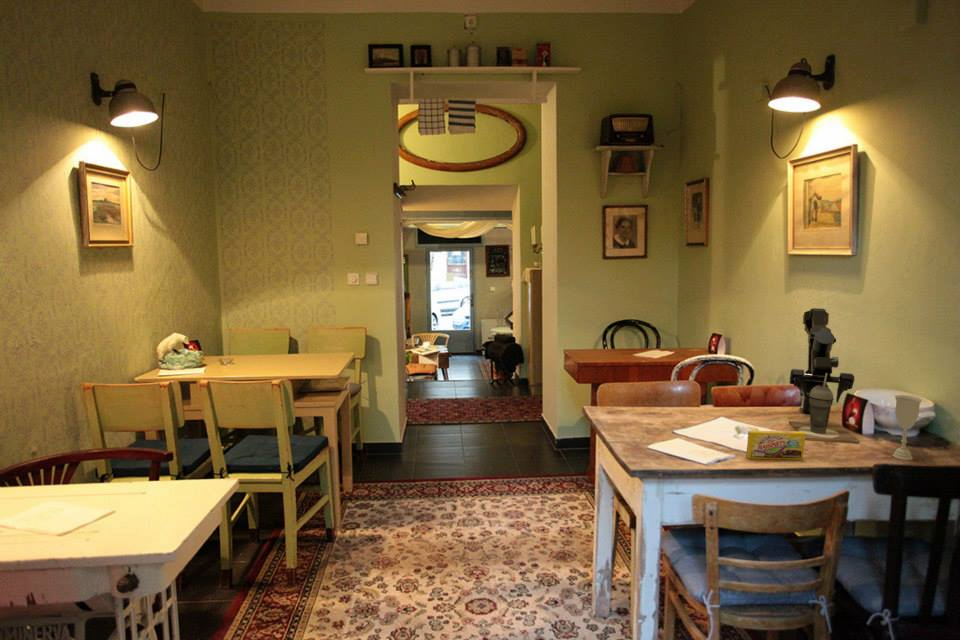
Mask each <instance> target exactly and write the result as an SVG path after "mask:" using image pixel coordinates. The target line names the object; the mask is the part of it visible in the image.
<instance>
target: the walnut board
mask: <svg viewBox="0 0 960 640" xmlns="http://www.w3.org/2000/svg"><path fill="white" fill-rule="evenodd" d="M788 424H789V425H790V426H791V427H792V428H793V429H794V431H802V432H804V433H805V441H813V442H814V441H816V442H829V443H831V442H832V443H845V444H847V443H848V444H860V440H859V439H858V438H857V437H855V436H854V434H852V433H851V432H849V431H848V430H847V429H846V428H844V427H843V426H842V425H841V424H840V423H838V422H837V423H832V422H828V425H827V429H826V433H825V434H818V433H813V432H811V431H810V421H803V420H802V421H801V420H788Z"/></svg>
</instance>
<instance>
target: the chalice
mask: <svg viewBox="0 0 960 640" xmlns="http://www.w3.org/2000/svg"><path fill="white" fill-rule="evenodd" d="M894 398H895V401H896V402H895V412H894V414H895V417H896V419H897V422H898V425H899V427H900V428H902V430H903V432H902V434H901V436H902V438H901V440H900V442H901V446H900V447H898V448H896V449H895V451H894V453H892V457H893V456H894V458H896V459H900V460H905V461H909V460H910V461H911V460H913V456H912V454H911V451H910V450H909V449H907V447H906V444H907V443H908V440H907V438H908V436H909V435H908V430H909V429H912V427H913V426H914V424H915V423H916V421H917V419H918V418H919V415H920V405H921V402H922V401H923V399H922V398H921V397H918V396H914V395H907V394H906V395H905V394H898V395H895V396H894Z"/></svg>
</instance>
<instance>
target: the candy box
mask: <svg viewBox="0 0 960 640" xmlns="http://www.w3.org/2000/svg"><path fill="white" fill-rule="evenodd" d="M805 442H806V440H805V433H804V432H802V431H796V430H793V431H791V430H790V431H787V430H748V434H747V445H746V453H745V457H746V458H747V459H748V460H750V459H751V460H752V459H753V460H804V453H805Z"/></svg>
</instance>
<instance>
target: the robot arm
mask: <svg viewBox="0 0 960 640" xmlns="http://www.w3.org/2000/svg"><path fill="white" fill-rule="evenodd" d="M829 315H830V313H828V311H826V309H825V308H817V307H814V308H813V307H812V308H810V310H807V311H805V312H804V313H803V315H802V325H804V332H806V334H807V343H808V347H807V348H808V349H807V370H806V371H805V370H804V369H797V368H792V369H790V374H789V384H790V385H793V386H794V387H796V388H797V389H798V390H799V393H798V394H799V396H800V397H803V398H802V407H799V410H800V411H801V412H802V413H803V414H805V415H806V414H808V415H810V402H809V394H810V391H811V390H812V389H813V388H814V387H815V386H818V385H823V384H824V379H825V374H826V373H827V378H826V383H825V386H826V387H828V388H829V385H828V383H832V384H833V383H834V384H838V385H837V390H836V399H835V402H836V404H837V403H839V401H840V399H841V396H842V394H843V393H844V392H846V391H847V392H848V390H851V389H853V386H854V382H855V375H854V374H853V373H848V372H840V373H839V376H832V375H831V374H833V368H838V367H839V363H840V362H839V356H838V357H837V356H832V358H831V352H832V348H833V345H834V344H835V343H837V338H836V337H835V335H834V334H833V333H832V330H831V329H830V328H829V327H828V324H829V318H830V317H829Z"/></svg>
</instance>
